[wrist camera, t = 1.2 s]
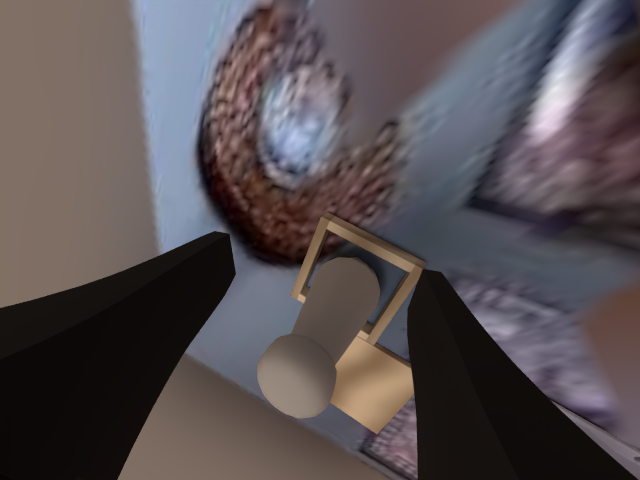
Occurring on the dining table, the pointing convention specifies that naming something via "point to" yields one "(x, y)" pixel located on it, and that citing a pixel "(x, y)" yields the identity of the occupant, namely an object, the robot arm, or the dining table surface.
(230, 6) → the dining table surface
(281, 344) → the beige bowling pin
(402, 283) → the birch collar
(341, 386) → the cork mat
